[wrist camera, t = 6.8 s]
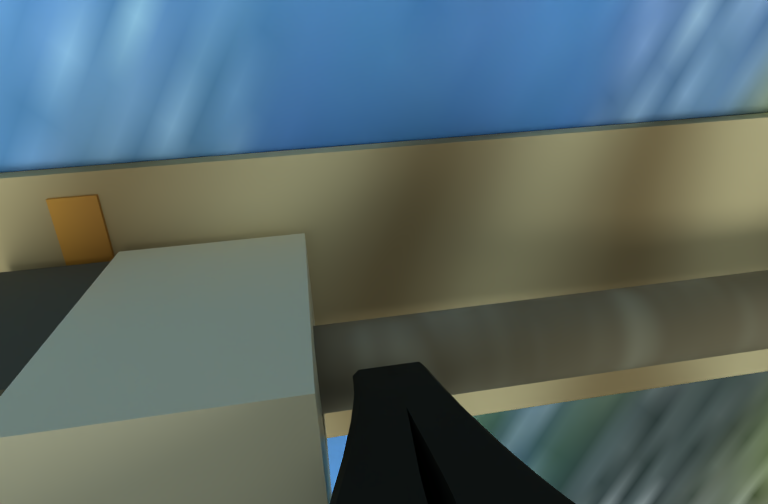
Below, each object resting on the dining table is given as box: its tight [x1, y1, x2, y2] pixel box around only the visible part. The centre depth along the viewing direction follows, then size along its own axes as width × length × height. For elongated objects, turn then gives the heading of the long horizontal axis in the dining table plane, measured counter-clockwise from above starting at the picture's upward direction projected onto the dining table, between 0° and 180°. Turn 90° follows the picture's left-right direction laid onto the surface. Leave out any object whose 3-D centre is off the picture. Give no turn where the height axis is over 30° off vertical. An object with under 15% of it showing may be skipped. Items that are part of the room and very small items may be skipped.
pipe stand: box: [0, 113, 768, 438], centre depth 12 cm, size 30×8×4 cm, turn 93°
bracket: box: [0, 261, 111, 396], centre depth 10 cm, size 2×4×4 cm, turn 3°
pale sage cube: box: [0, 233, 332, 504], centre depth 10 cm, size 4×5×6 cm
